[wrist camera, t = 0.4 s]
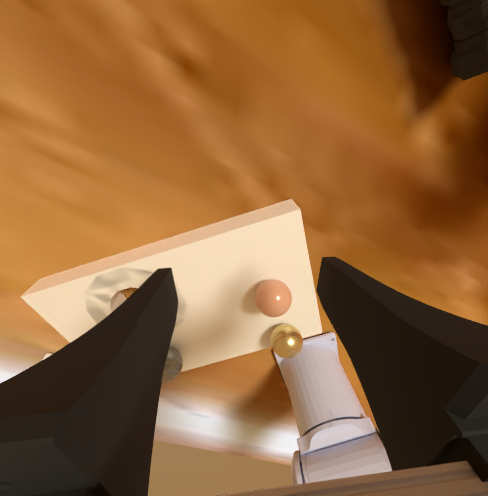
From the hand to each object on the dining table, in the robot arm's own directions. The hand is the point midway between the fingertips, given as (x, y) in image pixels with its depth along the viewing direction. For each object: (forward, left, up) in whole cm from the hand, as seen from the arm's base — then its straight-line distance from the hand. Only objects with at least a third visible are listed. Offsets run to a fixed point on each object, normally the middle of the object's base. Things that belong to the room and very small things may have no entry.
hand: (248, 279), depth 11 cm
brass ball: (-13, -1, -6) cm, 15 cm away
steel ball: (-12, +11, -6) cm, 17 cm away
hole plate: (-8, +7, -10) cm, 15 cm away
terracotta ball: (-7, -1, -6) cm, 9 cm away
